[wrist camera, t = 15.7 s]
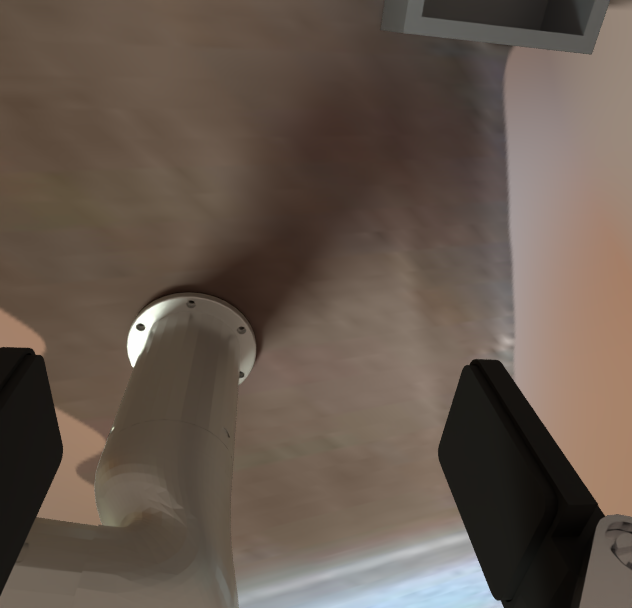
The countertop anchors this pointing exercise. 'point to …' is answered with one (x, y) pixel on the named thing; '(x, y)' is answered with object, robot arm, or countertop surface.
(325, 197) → the countertop surface
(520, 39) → the bin
